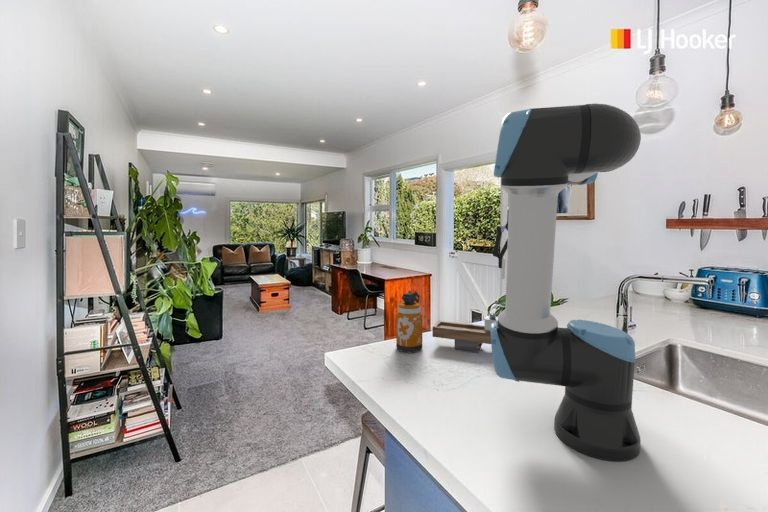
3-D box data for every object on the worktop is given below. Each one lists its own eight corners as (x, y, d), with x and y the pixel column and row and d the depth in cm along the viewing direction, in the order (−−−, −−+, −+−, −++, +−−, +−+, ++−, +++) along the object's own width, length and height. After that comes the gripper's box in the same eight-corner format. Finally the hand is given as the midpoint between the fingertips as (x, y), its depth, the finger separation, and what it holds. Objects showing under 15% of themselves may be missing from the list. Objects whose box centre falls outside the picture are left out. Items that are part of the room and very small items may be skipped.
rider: (498, 335, 118) (499, 316, 117) (484, 333, 119) (484, 314, 119) (500, 331, 122) (500, 312, 121) (486, 330, 124) (486, 311, 123)
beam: (501, 357, 116) (502, 334, 115) (432, 347, 125) (432, 326, 125) (503, 349, 124) (504, 327, 123) (438, 340, 133) (438, 320, 132)
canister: (391, 351, 123) (391, 293, 121) (405, 341, 132) (405, 287, 130) (416, 355, 119) (416, 295, 117) (428, 345, 128) (428, 289, 126)
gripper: (556, 207, 113) (553, 279, 115) (487, 208, 121) (485, 275, 123) (557, 206, 106) (554, 283, 108) (483, 208, 114) (482, 278, 117)
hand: (517, 279), depth 116 cm, fingers open, 8 cm apart
